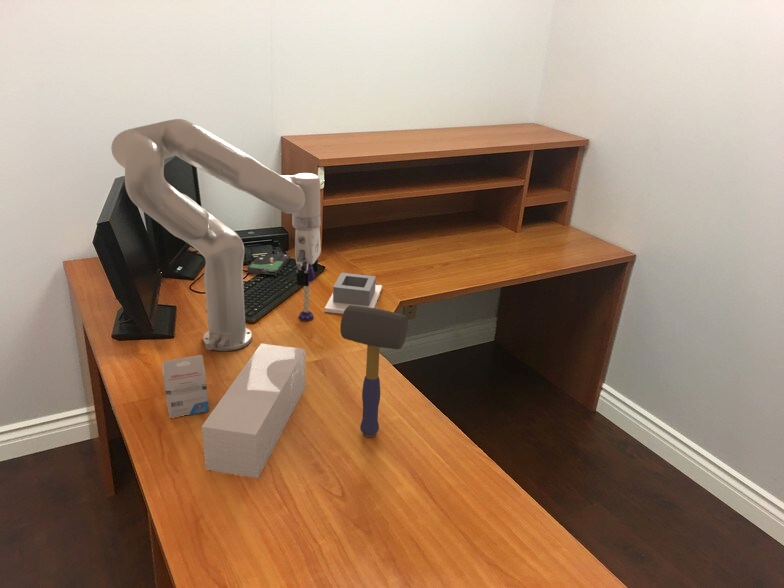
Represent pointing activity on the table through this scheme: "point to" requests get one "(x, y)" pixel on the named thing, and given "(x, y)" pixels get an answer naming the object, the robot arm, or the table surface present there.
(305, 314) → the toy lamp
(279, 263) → the disk drive
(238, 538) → the table surface
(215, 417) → the long gray block
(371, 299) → the dock
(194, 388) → the ink box
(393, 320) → the rubber mallet
